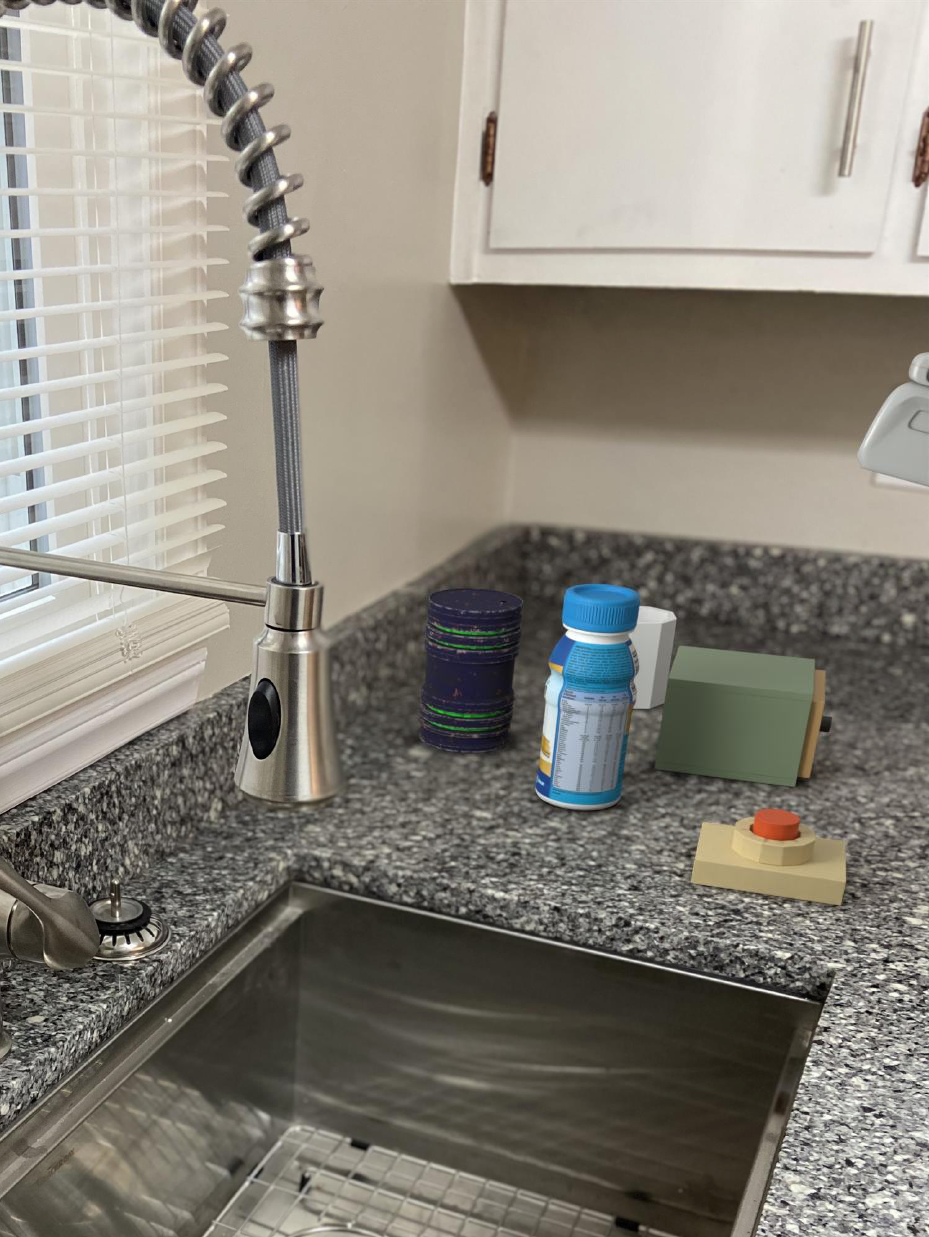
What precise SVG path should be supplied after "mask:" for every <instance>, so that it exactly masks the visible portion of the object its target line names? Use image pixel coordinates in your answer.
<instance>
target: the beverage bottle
mask: <svg viewBox="0 0 929 1237" xmlns="http://www.w3.org/2000/svg"><path fill="white" fill-rule="evenodd" d="M563 598H564V599H563V606H562V616H561V622H562V626H563V627H564V628H565V629H566V632H565V633H563V635H562V636H561V638H560V639H559V640H558V642H557V643H556V644H555V646H554V647H553V650H552V652H551V654H550V657H549V660H548V666H549V669H550V672H551V673H550V675H549V677H548V679H547V680H546V682H545V685H544V689H543V690H544V691H543V697H544V701H545V705H544V715H543V724H542V727H543V728H542V735H541V744H540V751H539V752H540V753H539V762H538V768H537V774H536V777H535V787H534V789H535V792H536V794H537V796H538V797H539V798H540V800H543V801H544V802H546V803H547V804H550V805H551V806H555V807H558V808H562V809H566V810H572V811H599V810H604V809H608V808H610V807H612V806H615V805H616V804H617V803H619V801H620V799H621V798H622V791H623V778H624V777H623V776H624V768H625V763H626V762H625V761H626V755H627V750H628V741H629V734H630V728H631V722H632V715H633V710H634V709H633V707H634V705H635V703H636V697H637V689H636V687H635V684H634V678H635V676H636V675H637V673H638V671H639V660H638V656H637V652H636V650H635V647H634V645H633V643H632V641H631V639H630V637H629V636H628V634H630V633H632V632H633V631H634V630H635V627H636V625H637V620H638V614H639V607H640V606H641V596H640V594H639V593H638V591H636V590H634V589H632V588H629V587H625V586H621V585H615V584H606V583H584V584H578V585H573V586H570V587H569V588H567V589H566V591H565V594H564V597H563Z"/></svg>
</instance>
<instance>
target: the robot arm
mask: <svg viewBox="0 0 929 1237" xmlns="http://www.w3.org/2000/svg"><path fill="white" fill-rule="evenodd" d="M908 377H909V379H910V380H912V381H909V382H905V383H903V384H901V385H899V386H898V387H896V388H895V389H894V390H892V391H891V393H890V394H889V395H888V397H887V398H886V399H885V400H884V402H883V404H882V405H881V407H880V408H879V409H878V411H877V413H876V415H875V416H874V419H873V421H872V422H871V424H870V426H869V427H868V430H867V431H866V433H865V436H864V437H863V440H862V442H861V445H860V446H859V449H858V451H857V453H856V458H857V459H856V460H857V462H858V464H859V466H860V468H861V469H863V470H866V471H870V472H874V473H876V474H877V473H878V474H880V475H884V476H887V477H891V478H895V479H899V480H902V481H906V482H910V483H913V484H916V485H920V486H924V487H928V488H929V351H927V352H922V353H919V354H917V355H916V356H915V357H914V358H913V359H912V361H911V363H910V366H909V369H908Z"/></svg>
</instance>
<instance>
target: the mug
mask: <svg viewBox="0 0 929 1237" xmlns="http://www.w3.org/2000/svg"><path fill="white" fill-rule="evenodd" d="M677 620H678V618H677V617H676V615H675V613H674V611H671V610H667V609H662V608H658V607H655V606H650V605H649V606H648V605H647V606H646V605H640V607H639V614H638V620H637V625H636V627H635V630H634V631H633V632H632V633H630V634H628V636H629V637H630V639H631V641H632V643H633V645H634V647H635V650H636V652H637V656H638V660H639V671H638V673H637V675H636V676H635V678H634V684H635V687H636V689H637V697H636V703H635V705H634V707H633V710H640V709H641V710H650V709H653V708H655V707H657V706H661V705H664V701H665V694H666V688H667V681H668V677H669V674H670V669H671V668H670V667H671V661H672V660H671V659H672V655H673V654H672V653H673V648H674V641H675V640H674V639H675V633H676V627H677Z"/></svg>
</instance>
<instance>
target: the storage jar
mask: <svg viewBox="0 0 929 1237" xmlns="http://www.w3.org/2000/svg"><path fill="white" fill-rule="evenodd" d="M427 604H428V608H429V609H428V610H427V616H426V618H427V619H426V621H425V630H424V633H425V637H424V638H425V639H424V641H423V644H424V651H425V652H426V660H425V673H424V674H425V675H424V683H423V684H422V685H421V690H420V702H419V715H420V717H419V723H420V727H419V729H418V736H419V739H420V741H421V742H422V743H424V744H426V745H428V746H429V747H432V748H435V749H439V750H442V751H447V752H453V753H463V754H480V753H490V752H494V751H498V750H500V749H503V748H505V747H506V746H508V744H509V742H510V732H509V730H510V728H511V724H512V720H513V715H514V703H515V700H516V698H515V690H514V688H513V684H514V683H513V682H514V672H515V662H516V658H517V657H518V655H519V651H520V649H521V646H520V642H521V640H520V639H521V637H522V627H523V626H522V617H523V616H522V614H521V613H522V611H523V609H524V608H523V607H524V600H523V599H522V598H521V597H520V596H518V595H516V594H513V593H510V592H506V591H502V590H497V589H491V588H490V589H489V588H479V587H478V588H476V587H460V588H458V587H457V588H447V589H441V590H437V591H435V592H432V593H431V594H429V596H428V602H427Z"/></svg>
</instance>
